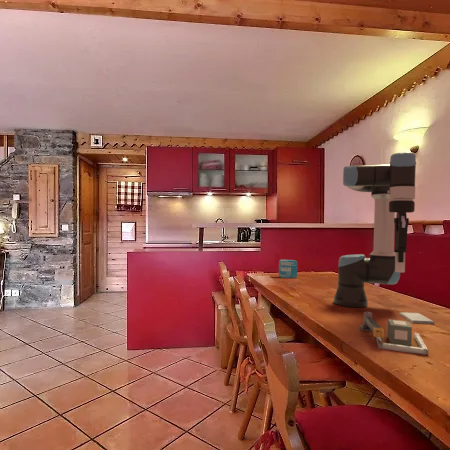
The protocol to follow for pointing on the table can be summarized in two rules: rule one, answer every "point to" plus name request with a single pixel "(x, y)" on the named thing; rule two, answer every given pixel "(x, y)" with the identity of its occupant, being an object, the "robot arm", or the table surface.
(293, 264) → the data package
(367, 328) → the post
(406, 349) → the frame
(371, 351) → the table surface
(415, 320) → the hard drive
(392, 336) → the panel
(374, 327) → the cable arm
